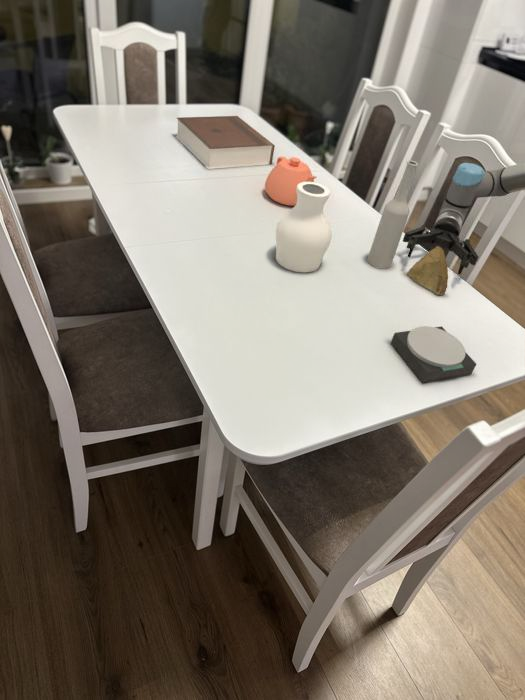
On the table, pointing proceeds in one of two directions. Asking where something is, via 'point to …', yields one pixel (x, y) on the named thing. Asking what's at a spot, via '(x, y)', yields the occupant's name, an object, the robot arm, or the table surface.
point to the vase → (304, 230)
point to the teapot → (287, 180)
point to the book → (224, 141)
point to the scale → (433, 353)
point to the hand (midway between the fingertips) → (435, 261)
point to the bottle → (392, 223)
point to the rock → (431, 271)
